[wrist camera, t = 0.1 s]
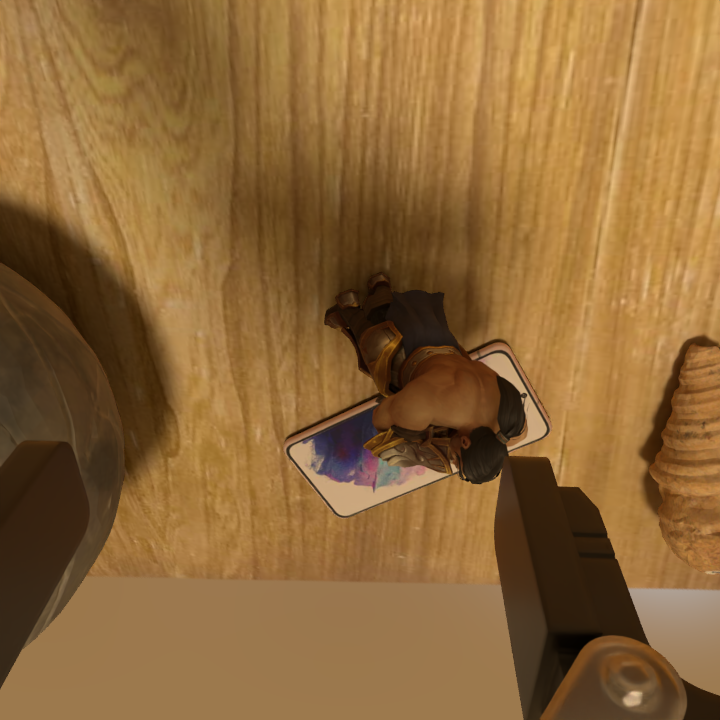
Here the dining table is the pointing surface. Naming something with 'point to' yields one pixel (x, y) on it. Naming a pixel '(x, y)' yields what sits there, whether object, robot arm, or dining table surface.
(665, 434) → the seashell
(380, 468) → the smartphone
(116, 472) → the bowl
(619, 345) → the dining table surface
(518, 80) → the dining table surface
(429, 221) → the dining table surface
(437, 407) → the figurine
